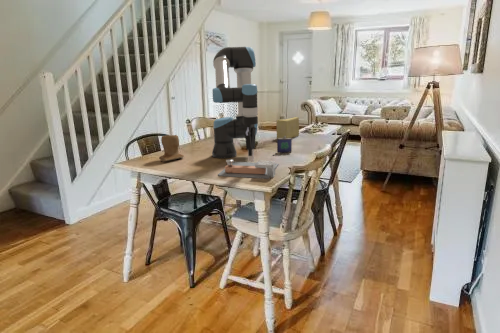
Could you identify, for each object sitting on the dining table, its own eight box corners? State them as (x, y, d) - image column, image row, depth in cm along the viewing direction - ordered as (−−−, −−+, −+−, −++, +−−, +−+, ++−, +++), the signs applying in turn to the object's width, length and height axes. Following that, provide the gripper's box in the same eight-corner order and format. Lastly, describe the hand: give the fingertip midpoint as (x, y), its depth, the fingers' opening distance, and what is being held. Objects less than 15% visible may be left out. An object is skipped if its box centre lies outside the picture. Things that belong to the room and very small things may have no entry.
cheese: (293, 134, 278) (293, 116, 274) (303, 136, 271) (303, 117, 267) (276, 139, 262) (275, 119, 259) (286, 140, 256) (286, 120, 252)
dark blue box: (291, 151, 220) (291, 135, 217) (292, 152, 217) (292, 135, 214) (276, 152, 219) (276, 135, 216) (277, 153, 216) (277, 136, 213)
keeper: (255, 177, 167) (254, 164, 165) (258, 172, 175) (258, 160, 173) (272, 178, 165) (272, 165, 163) (275, 173, 172) (275, 161, 171)
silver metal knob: (224, 166, 172) (224, 161, 171) (227, 164, 176) (227, 159, 175) (232, 166, 171) (232, 161, 170) (234, 164, 175) (234, 159, 174)
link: (223, 172, 172) (223, 167, 171) (226, 170, 177) (226, 164, 176) (264, 174, 168) (264, 168, 167) (266, 171, 173) (266, 166, 172)
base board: (217, 175, 171) (217, 174, 171) (233, 162, 195) (233, 161, 195) (268, 178, 164) (268, 177, 164) (278, 164, 189) (278, 163, 188)
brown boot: (174, 155, 216) (173, 132, 212) (186, 158, 208) (185, 134, 204) (154, 160, 205) (151, 135, 201) (165, 163, 197) (163, 137, 193)
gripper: (246, 114, 179) (248, 157, 186) (238, 117, 167) (240, 164, 174) (260, 114, 177) (261, 158, 183) (253, 118, 165) (254, 165, 171)
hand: (251, 161), depth 178 cm, fingers closed
